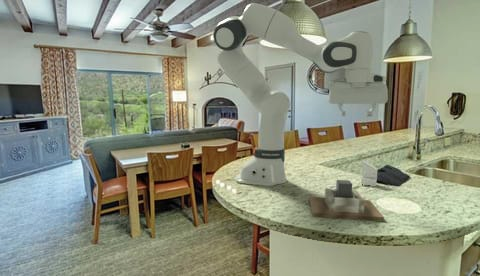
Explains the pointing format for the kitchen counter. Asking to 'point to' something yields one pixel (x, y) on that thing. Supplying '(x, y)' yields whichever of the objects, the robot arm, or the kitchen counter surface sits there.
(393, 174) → the dark slate chunk
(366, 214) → the socket block
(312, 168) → the kitchen counter surface
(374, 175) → the white wedge bracket
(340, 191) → the black plug
